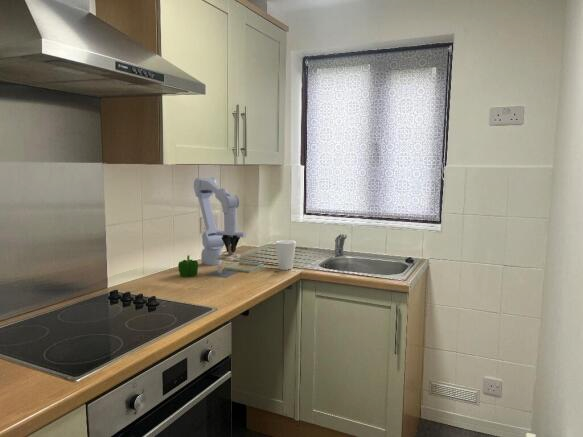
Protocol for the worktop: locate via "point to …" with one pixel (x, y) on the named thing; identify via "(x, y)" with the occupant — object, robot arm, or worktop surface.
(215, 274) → the stake board
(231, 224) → the robot arm
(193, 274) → the bell pepper
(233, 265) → the tray
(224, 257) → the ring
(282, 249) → the foam cup
